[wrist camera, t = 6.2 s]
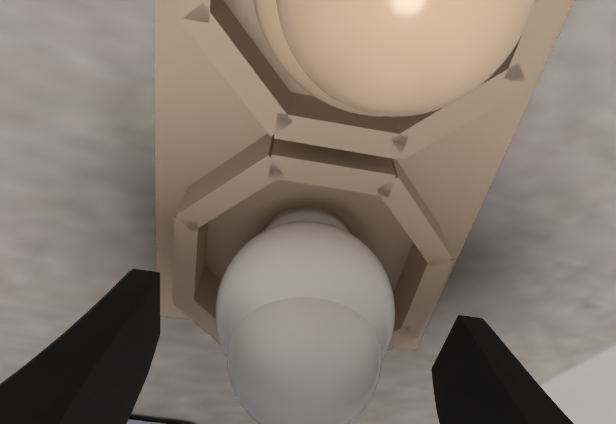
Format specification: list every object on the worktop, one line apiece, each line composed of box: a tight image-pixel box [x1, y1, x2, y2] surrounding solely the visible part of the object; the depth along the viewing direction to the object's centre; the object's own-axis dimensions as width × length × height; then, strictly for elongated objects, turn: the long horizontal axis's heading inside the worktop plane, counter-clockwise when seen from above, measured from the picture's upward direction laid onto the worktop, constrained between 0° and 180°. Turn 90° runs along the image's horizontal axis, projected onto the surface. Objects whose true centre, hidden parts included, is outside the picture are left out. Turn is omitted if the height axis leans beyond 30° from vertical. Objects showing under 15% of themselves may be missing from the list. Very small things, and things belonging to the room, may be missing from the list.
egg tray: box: [154, 0, 575, 350], centre depth 11 cm, size 15×9×2 cm, turn 170°
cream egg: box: [216, 206, 395, 424], centre depth 11 cm, size 4×4×6 cm
